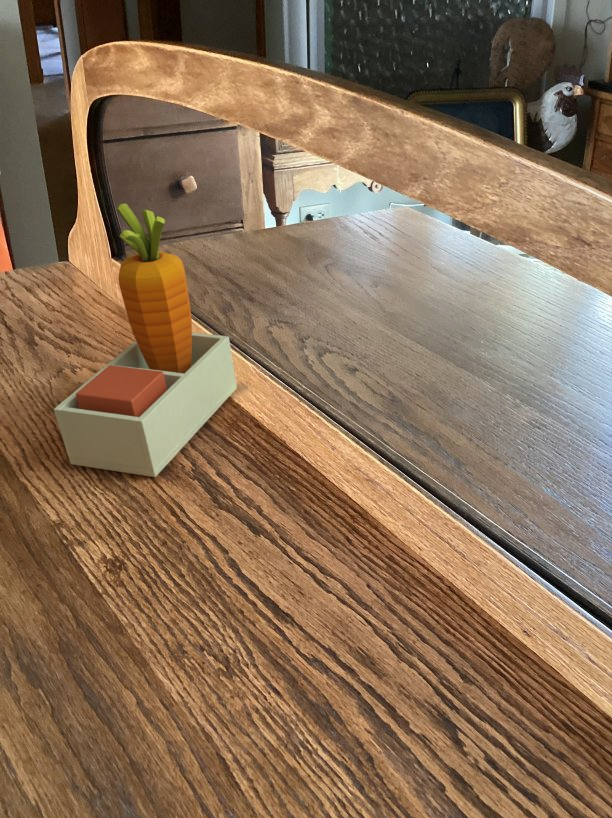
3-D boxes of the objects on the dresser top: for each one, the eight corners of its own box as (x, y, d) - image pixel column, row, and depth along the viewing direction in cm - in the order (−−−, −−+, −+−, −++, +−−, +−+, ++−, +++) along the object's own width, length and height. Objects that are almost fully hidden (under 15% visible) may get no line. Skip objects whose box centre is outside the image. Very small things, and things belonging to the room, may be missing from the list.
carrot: (218, 400, 70) (184, 207, 61) (158, 418, 68) (113, 222, 59) (195, 375, 74) (159, 190, 65) (137, 393, 72) (91, 203, 63)
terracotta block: (90, 448, 65) (74, 393, 62) (123, 417, 68) (109, 364, 66) (145, 456, 64) (131, 401, 61) (175, 425, 67) (163, 371, 64)
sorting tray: (70, 464, 65) (53, 409, 62) (161, 378, 75) (150, 327, 72) (155, 477, 63) (141, 421, 60) (237, 388, 73) (229, 336, 70)
